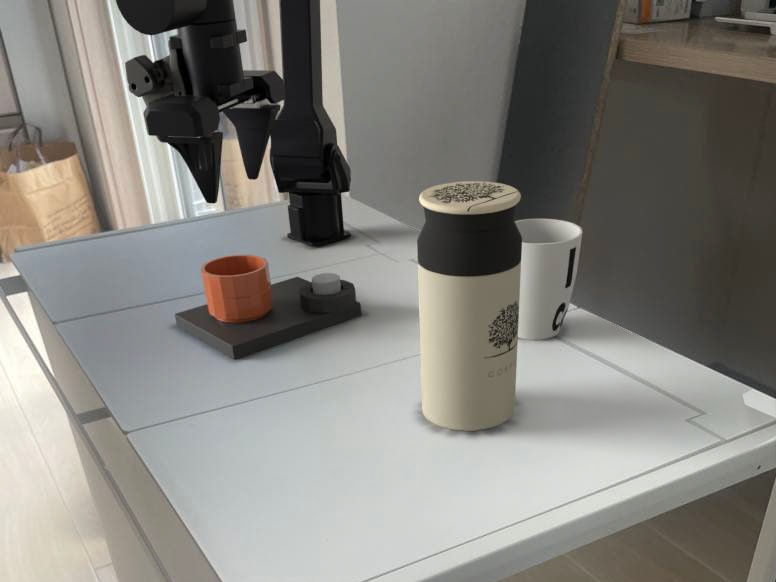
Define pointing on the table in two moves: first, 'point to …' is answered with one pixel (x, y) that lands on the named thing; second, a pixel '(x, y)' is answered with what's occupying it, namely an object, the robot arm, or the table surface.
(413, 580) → the table surface
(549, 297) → the cup
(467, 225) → the travel mug
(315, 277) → the button
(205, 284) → the bowl
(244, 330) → the scale
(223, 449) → the table surface
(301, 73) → the robot arm
